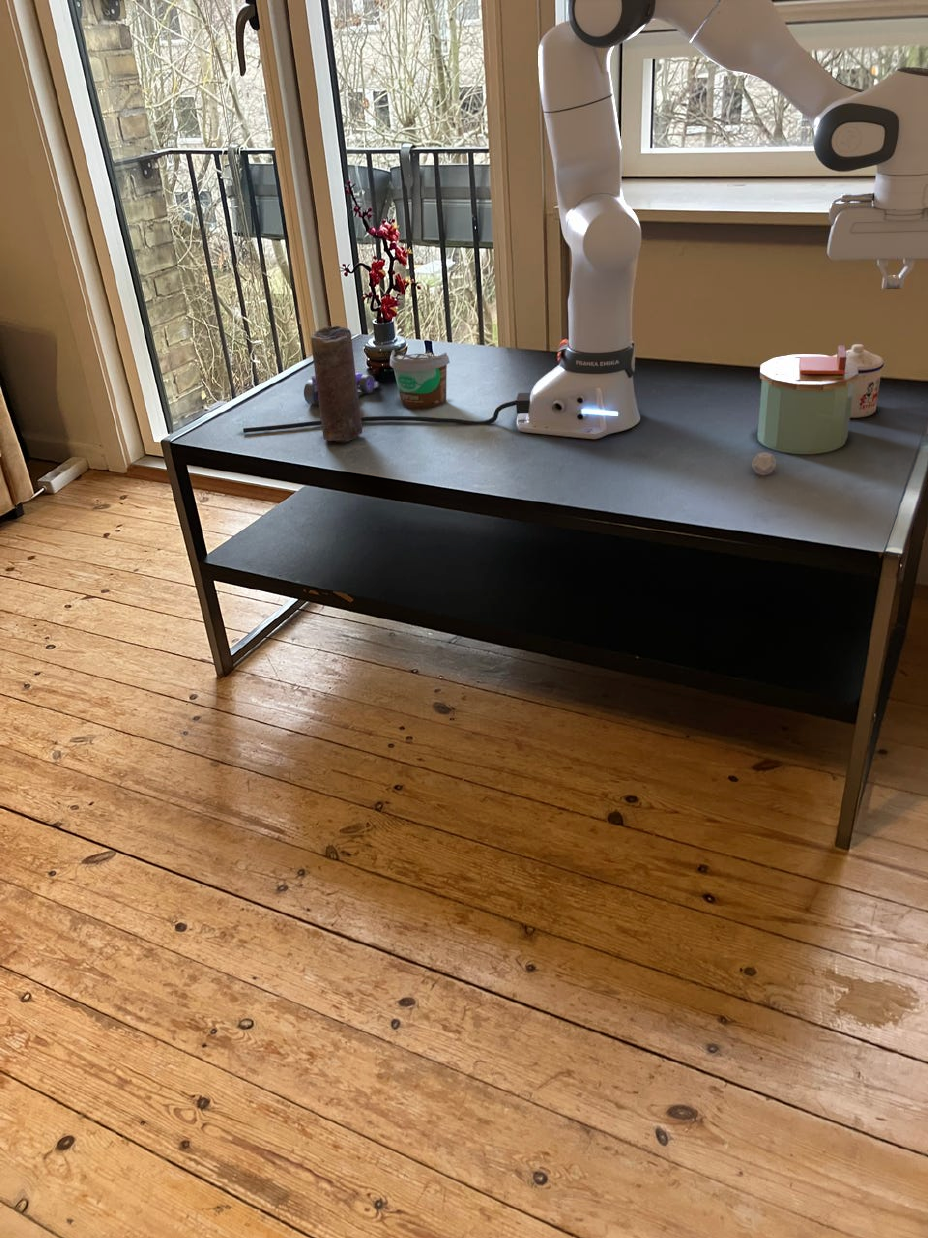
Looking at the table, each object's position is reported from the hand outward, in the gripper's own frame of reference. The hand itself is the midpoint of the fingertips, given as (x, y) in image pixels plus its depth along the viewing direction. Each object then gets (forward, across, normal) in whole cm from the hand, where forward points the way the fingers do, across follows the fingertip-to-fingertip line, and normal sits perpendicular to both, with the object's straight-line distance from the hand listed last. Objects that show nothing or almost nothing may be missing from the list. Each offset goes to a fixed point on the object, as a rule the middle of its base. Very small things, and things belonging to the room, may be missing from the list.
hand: (892, 288), depth 155 cm
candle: (+25, -92, -6) cm, 96 cm away
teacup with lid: (+25, -2, +15) cm, 29 cm away
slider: (+12, -9, 0) cm, 15 cm away
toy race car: (+25, -100, +16) cm, 104 cm away
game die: (+25, -17, -15) cm, 34 cm away
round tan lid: (+14, -11, 0) cm, 18 cm away
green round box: (+25, -11, 0) cm, 27 cm away
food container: (+25, -83, +12) cm, 88 cm away
